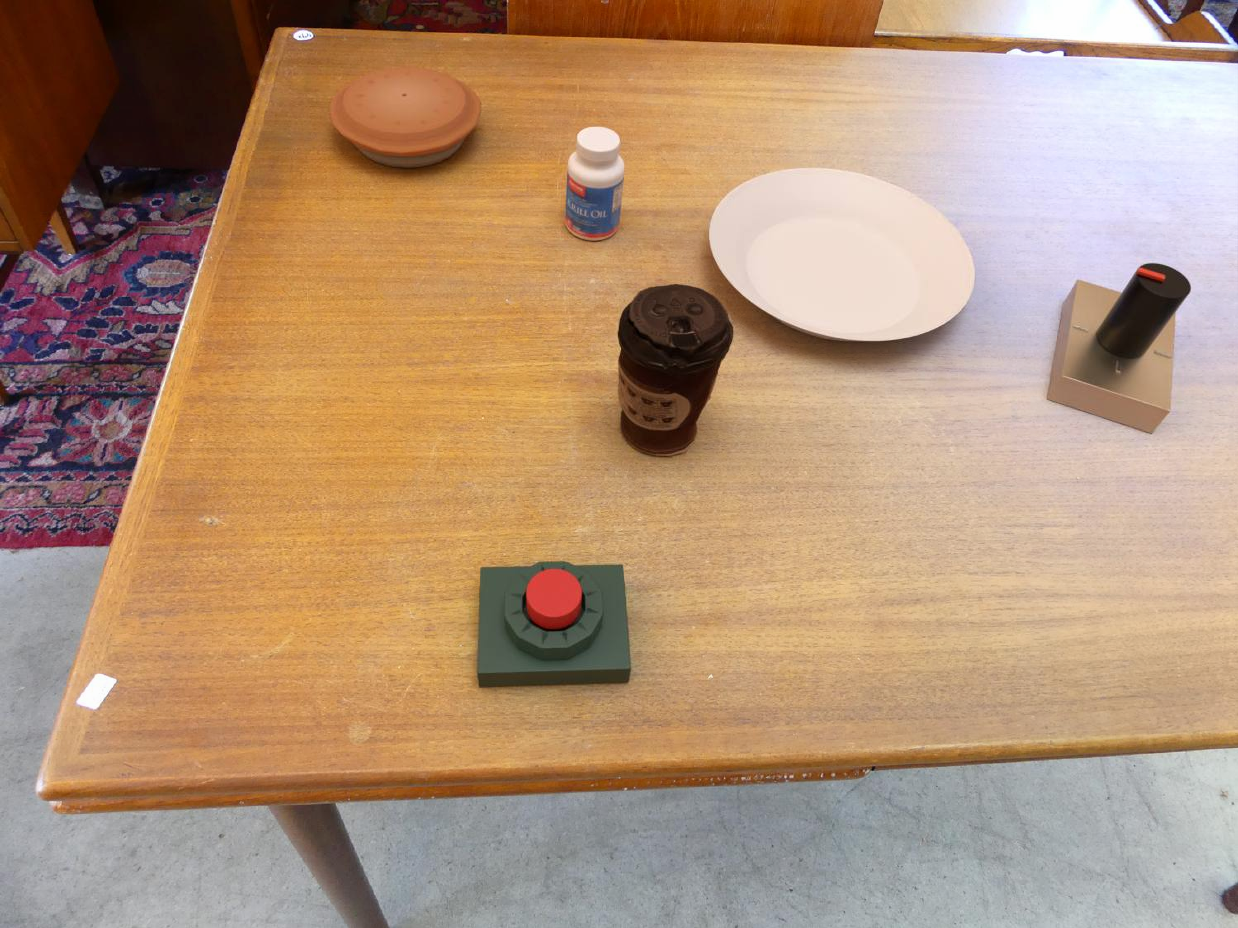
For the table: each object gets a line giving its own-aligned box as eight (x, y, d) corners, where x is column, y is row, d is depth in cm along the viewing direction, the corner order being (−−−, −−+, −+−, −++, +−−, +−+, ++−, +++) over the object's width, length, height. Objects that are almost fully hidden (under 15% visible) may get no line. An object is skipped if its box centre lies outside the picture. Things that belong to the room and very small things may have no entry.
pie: (352, 93, 103) (345, 50, 99) (490, 105, 103) (489, 62, 99) (319, 174, 93) (309, 130, 89) (471, 187, 94) (468, 144, 90)
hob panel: (1151, 433, 79) (1171, 409, 77) (1046, 399, 81) (1062, 374, 78) (1158, 332, 87) (1177, 307, 85) (1063, 302, 89) (1078, 277, 86)
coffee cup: (675, 488, 72) (698, 373, 62) (586, 441, 74) (594, 323, 64) (726, 419, 77) (755, 302, 66) (641, 377, 79) (657, 258, 69)
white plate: (997, 263, 92) (1011, 234, 89) (898, 412, 78) (912, 384, 76) (778, 168, 99) (785, 139, 97) (654, 289, 86) (658, 259, 83)
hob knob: (1148, 333, 82) (1194, 270, 77) (1145, 364, 80) (1192, 301, 74) (1098, 317, 83) (1140, 253, 78) (1094, 347, 81) (1136, 284, 75)
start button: (579, 581, 62) (580, 567, 61) (582, 629, 60) (583, 616, 58) (526, 582, 62) (526, 568, 60) (526, 630, 59) (526, 617, 58)
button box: (620, 579, 66) (625, 550, 63) (628, 682, 62) (633, 656, 58) (481, 582, 66) (479, 552, 62) (478, 687, 61) (475, 660, 58)
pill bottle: (556, 234, 90) (558, 146, 82) (575, 203, 93) (579, 116, 86) (609, 248, 89) (616, 161, 82) (626, 216, 92) (634, 129, 85)
